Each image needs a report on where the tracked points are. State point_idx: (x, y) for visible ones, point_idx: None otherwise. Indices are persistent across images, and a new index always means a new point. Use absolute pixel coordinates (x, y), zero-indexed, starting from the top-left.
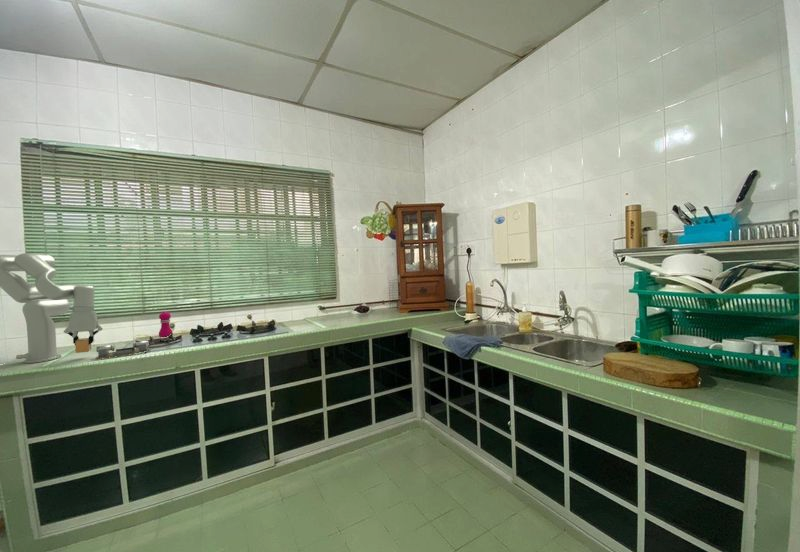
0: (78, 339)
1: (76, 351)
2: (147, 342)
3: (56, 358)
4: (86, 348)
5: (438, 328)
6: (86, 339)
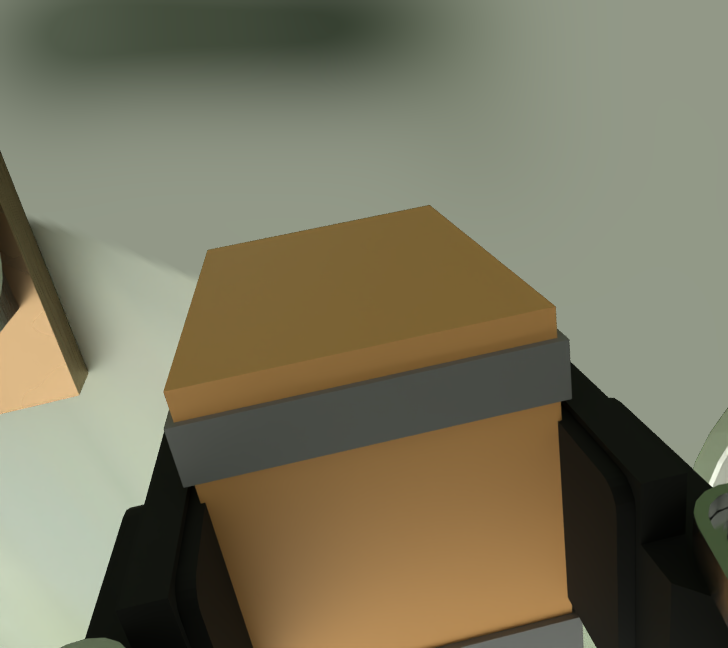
0: (561, 574)
1: (418, 216)
2: None
3: (707, 439)
4: (229, 273)
5: None
6: (299, 534)
